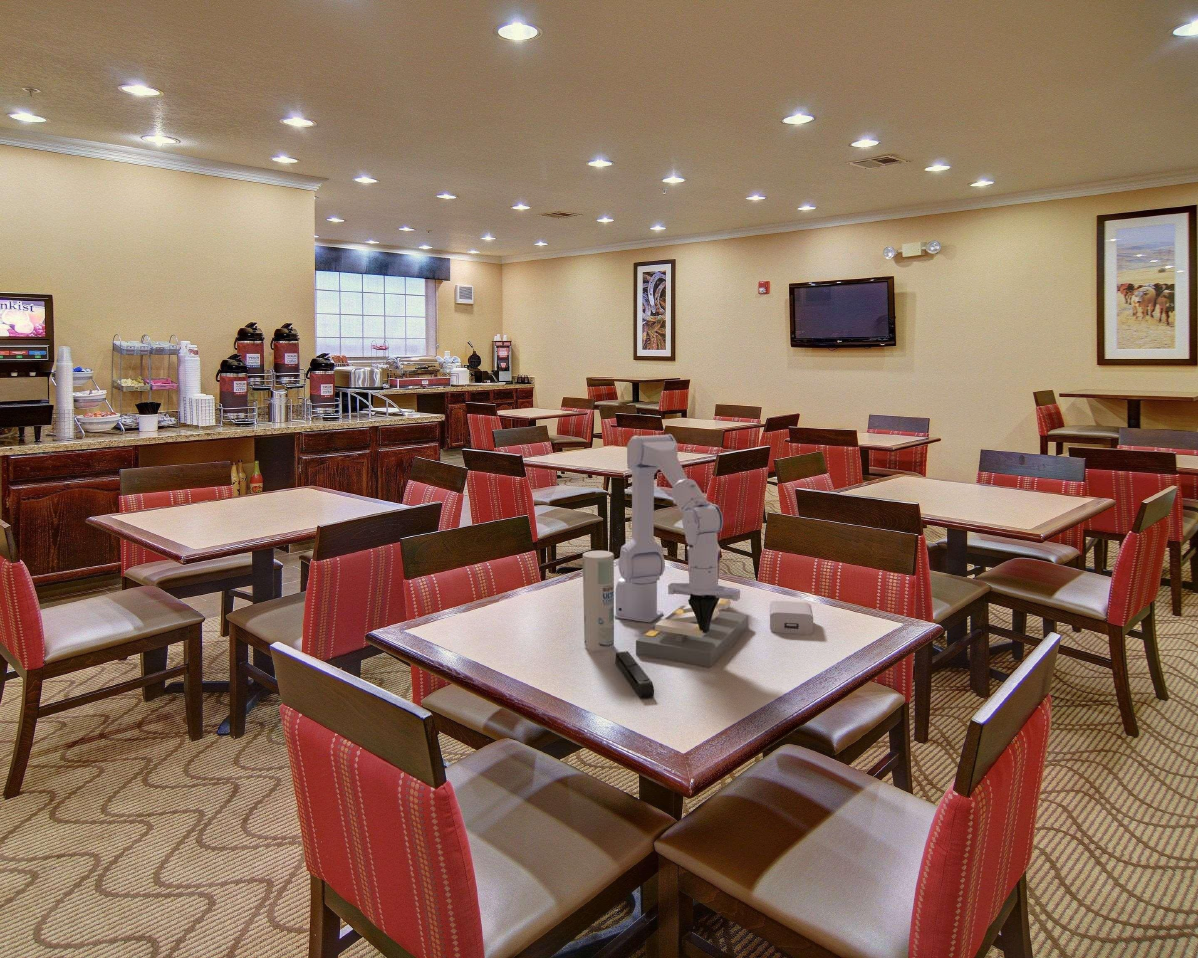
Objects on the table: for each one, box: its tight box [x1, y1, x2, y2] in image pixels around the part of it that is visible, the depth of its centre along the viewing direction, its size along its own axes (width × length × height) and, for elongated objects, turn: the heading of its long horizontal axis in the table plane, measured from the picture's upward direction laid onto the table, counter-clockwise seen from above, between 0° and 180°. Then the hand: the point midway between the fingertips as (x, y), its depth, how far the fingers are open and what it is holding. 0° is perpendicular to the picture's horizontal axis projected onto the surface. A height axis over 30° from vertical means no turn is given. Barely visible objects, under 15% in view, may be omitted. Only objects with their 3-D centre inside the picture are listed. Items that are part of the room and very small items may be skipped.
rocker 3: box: [683, 598, 732, 613], centre depth 169 cm, size 10×4×1 cm, turn 62°
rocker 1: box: [654, 618, 706, 638], centre depth 155 cm, size 10×4×1 cm, turn 63°
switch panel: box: [635, 605, 750, 668], centre depth 162 cm, size 16×26×4 cm, turn 153°
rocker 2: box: [669, 609, 720, 623], centre depth 162 cm, size 10×4×1 cm, turn 62°
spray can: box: [582, 550, 615, 652], centre depth 159 cm, size 6×6×20 cm
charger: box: [769, 600, 814, 635], centre depth 174 cm, size 5×9×15 cm
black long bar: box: [614, 650, 655, 700], centre depth 142 cm, size 18×3×3 cm, turn 14°
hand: (704, 631), depth 153 cm, fingers closed, pressing on rocker 1
